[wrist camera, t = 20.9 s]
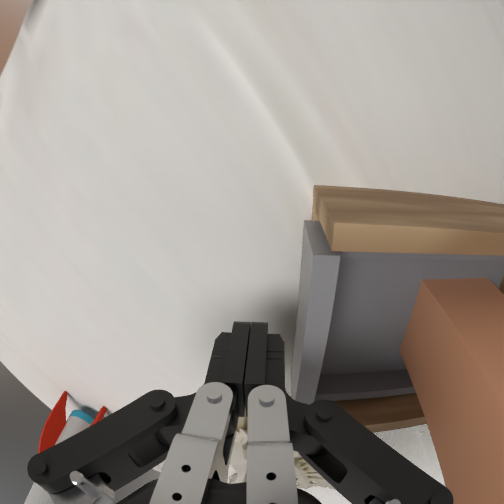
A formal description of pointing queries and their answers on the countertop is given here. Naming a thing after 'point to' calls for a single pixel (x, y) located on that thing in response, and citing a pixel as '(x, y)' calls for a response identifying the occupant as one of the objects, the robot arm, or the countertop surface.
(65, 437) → the toy rocket
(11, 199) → the countertop surface
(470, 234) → the dock
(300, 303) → the tray
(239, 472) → the anatomical model
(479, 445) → the tin
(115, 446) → the robot arm
